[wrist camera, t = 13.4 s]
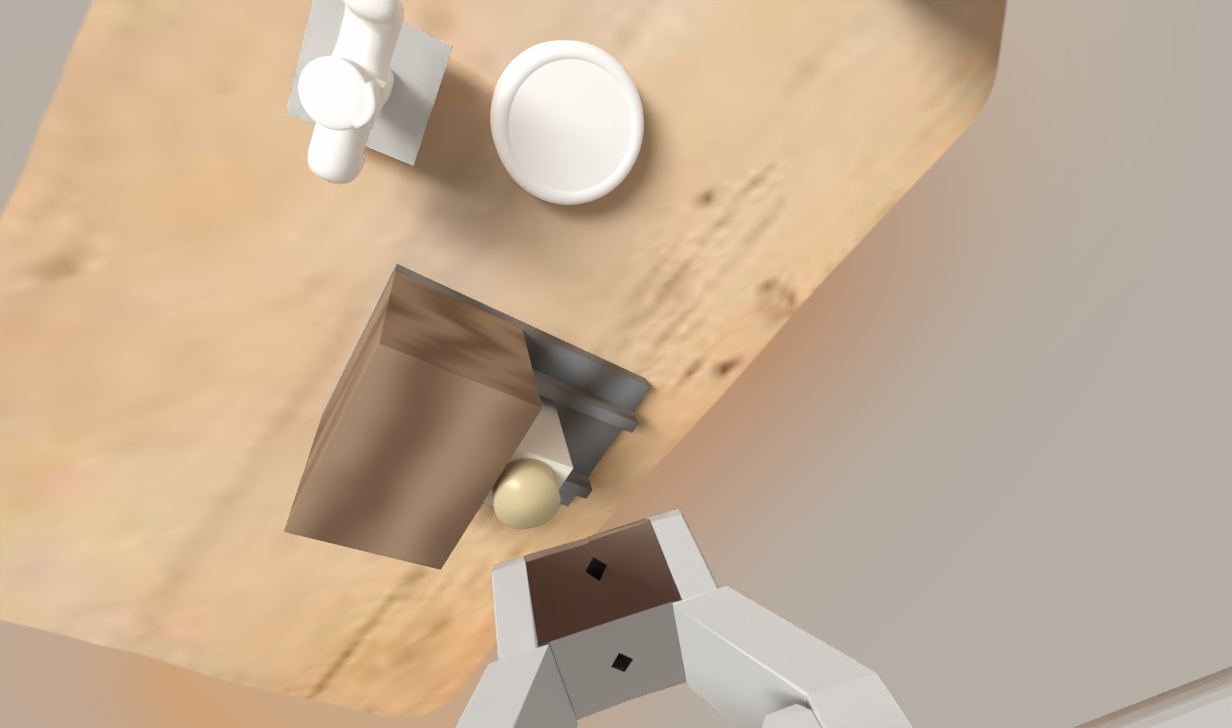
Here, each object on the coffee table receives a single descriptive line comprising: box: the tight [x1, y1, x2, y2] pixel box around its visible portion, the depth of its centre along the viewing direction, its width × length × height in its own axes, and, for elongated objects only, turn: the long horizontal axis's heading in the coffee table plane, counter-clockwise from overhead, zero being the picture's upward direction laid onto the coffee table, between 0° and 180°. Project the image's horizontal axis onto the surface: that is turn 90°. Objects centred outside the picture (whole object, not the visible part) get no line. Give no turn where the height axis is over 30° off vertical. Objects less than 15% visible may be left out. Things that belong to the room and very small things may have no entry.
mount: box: [284, 264, 650, 570], centre depth 45 cm, size 22×14×13 cm, turn 57°
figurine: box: [285, 0, 453, 184], centre depth 31 cm, size 7×9×15 cm
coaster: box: [490, 40, 644, 205], centre depth 40 cm, size 10×10×4 cm
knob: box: [483, 395, 573, 529], centre depth 45 cm, size 5×5×11 cm
